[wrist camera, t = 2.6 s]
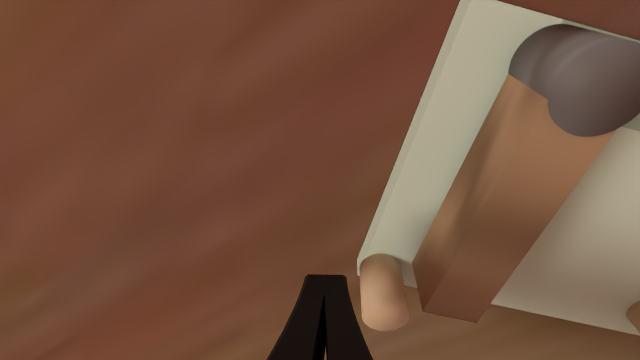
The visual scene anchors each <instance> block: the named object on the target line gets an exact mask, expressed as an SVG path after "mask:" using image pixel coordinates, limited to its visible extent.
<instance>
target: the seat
mask: <svg viewBox="0 0 640 360" xmlns="http://www.w3.org/2000/svg"><path fill="white" fill-rule="evenodd" d="M554 24H569V25H573V26H577V27H581V28H585V29H589V30H593V31H596V32H600V33H604V34H608V35H612V36H616V37H619V38H623V39H627V40H631V41H635V42H638V43H640V41H638V40H635V39H631V38H628V37H624V36H621V35H617V34H614V33H610V32H606V31H603V30H599V29H596V28H592V27H589V26H585V25H582V24H578V23H575V22H571V21H567V20H564V19H560V18H557V17H553V16H550V15H546V14H542V13H539V12H535V11H532V10H528V9H525V8H521V7H518V6H514V5H510V4H507V3H503V2H500V1H496V0H460V2H459V5H458V7H457V10H456V12H455V15H454V17H453V20H452V22H451V25H450V27H449V30H448V32H447V35H446V37H445V40H444V42H443V45H442V47H441V50H440V52H439V55H438V57H437V60H436V62H435V65H434V67H433V70H432V72H431V75H430V78H429V80H428V83H427V85H426V88H425V90H424V93H423V95H422V98H421V100H420V103H419V105H418V108H417V110H416V113H415V115H414V118H413V120H412V123H411V125H410V128H409V130H408V133H407V135H406V138H405V140H404V143H403V145H402V148H401V150H400V153H399V155H398V158H397V160H396V163H395V165H394V168H393V171H392V173H391V176H390V178H389V181H388V183H387V186H386V188H385V191H384V193H383V196H382V198H381V201H380V203H379V206H378V208H377V211H376V213H375V216H374V218H373V221H372V223H371V226H370V228H369V231H368V233H367V236H366V238H365V241H364V243H363V246H362V248H361V251H360V253H359V256H358V258H357V270H358V275H359V276H360V289H361V307H362V319H363V321H364V323H365V324H366V325H367V326H369V327H370V328H372V329H375V330H379V331H392V330H396V329H399V328H401V327H402V326H404V325H405V324H406V323H407V322H408V320H409V318H410V311H409V306H408V301H407V296H406V291H405V286H410V287H415V288H417V284H416V280H415V275H414V271H413V267H412V261H413V259H414V257H415V256H416V254H417V252H418V250H419V248H420V246H421V244H422V242H423V240H424V238H425V236H426V234H427V232H428V230H429V228H430V226H431V224H432V222H433V220H434V218H435V216H436V214H437V212H438V210H439V208H440V207H441V205H442V203H443V201H444V199H445V197H446V195H447V193H448V191H449V189H450V187H451V185H452V183H453V181H454V179H455V177H456V175H457V173H458V171H459V169H460V167H461V165H462V163H463V161H464V159H465V158H466V156H467V154H468V152H469V150H470V148H471V146H472V144H473V142H474V140H475V138H476V136H477V134H478V132H479V130H480V128H481V126H482V124H483V122H484V120H485V118H486V116H487V114H488V112H489V110H490V108H491V107H492V105H493V103H494V101H495V99H496V97H497V95H498V93H499V91H500V89H501V87H502V85H503V83H504V81H505V79H506V77H507V75H508V70H509V65H510V62H511V59H512V57H513V55H514V53H515V51H516V50H517V48H518V47H519V46H520V45H521V43H522V42H523V41H524V40H525V39H526V38H528V37H529V36H530V35H531V34H533V33H534V32H536V31H538V30H540V29H542V28H544V27H547V26H550V25H554ZM490 304H494V305H499V306H504V307H508V308H513V309H518V310H522V311H527V312H532V313H536V314H541V315H546V316H550V317H555V318H560V319H564V320H569V321H574V322H578V323H583V324H588V325H592V326H597V327H602V328H606V329H611V330H616V331H621V332H625V333H630V334H635V335H639V336H640V113H639V114H638V115H637V116H636V117H635V118H633V119H632V120H631V121H630V122H628V123H627V124H625V125H623V126H622V127H620V128H618V129H617V130H616V132H615V133H614V134H613V136H612V137H611V138H610V140H609V141H608V143H607V144H606V145H605V147H604V148H603V149H602V151H601V152H600V154H599V155H598V156H597V158H596V159H595V160H594V162H593V163H592V165H591V166H590V167H589V169H588V170H587V171H586V173H585V174H584V176H583V177H582V178H581V180H580V181H579V182H578V184H577V185H576V187H575V188H574V189H573V191H572V192H571V193H570V195H569V196H568V198H567V199H566V200H565V202H564V203H563V204H562V206H561V207H560V209H559V210H558V211H557V213H556V214H555V215H554V217H553V218H552V220H551V221H550V222H549V224H548V225H547V226H546V228H545V229H544V231H543V232H542V233H541V235H540V236H539V237H538V239H537V240H536V242H535V243H534V244H533V246H532V247H531V248H530V250H529V251H528V253H527V254H526V255H525V257H524V258H523V259H522V261H521V262H520V264H519V265H518V266H517V268H516V269H515V270H514V272H513V273H512V275H511V276H510V277H509V279H508V280H507V281H506V283H505V284H504V286H503V287H502V288H501V290H500V291H499V292H498V294H497V295H496V297H495V298H494V299H493V301H492V302H491V303H490Z"/></svg>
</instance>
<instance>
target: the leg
mask: <svg viewBox="0 0 640 360" xmlns="http://www.w3.org/2000/svg"><path fill="white" fill-rule="evenodd" d="M639 113H640V43H638V42H635V41H631V40H627V39H623V38H619V37H616V36H612V35H608V34H604V33H600V32H596V31H593V30H589V29H585V28H581V27H577V26H573V25H569V24H554V25H550V26H547V27H544V28H542V29H540V30H538V31H536V32H534V33H533V34H531V35H530V36H529V37H528V38H526V39H525V40H524V41H523V42H522V43H521V45H520V46H519V47H518V48H517V50H516V51H515V53H514V55H513V57H512V59H511V62H510V65H509V70H508V75H507V77H506V79H505V81H504V83H503V85H502V87H501V89H500V91H499V93H498V95H497V97H496V99H495V101H494V103H493V105H492V107H491V108H490V110H489V112H488V114H487V116H486V118H485V120H484V122H483V124H482V126H481V128H480V130H479V132H478V134H477V136H476V138H475V140H474V142H473V144H472V146H471V148H470V150H469V152H468V154H467V156H466V158H465V159H464V161H463V163H462V165H461V167H460V169H459V171H458V173H457V175H456V177H455V179H454V181H453V183H452V185H451V187H450V189H449V191H448V193H447V195H446V197H445V199H444V201H443V203H442V205H441V207H440V208H439V210H438V212H437V214H436V216H435V218H434V220H433V222H432V224H431V226H430V228H429V230H428V232H427V234H426V236H425V238H424V240H423V242H422V244H421V246H420V248H419V250H418V252H417V254H416V256H415V257H414V259H413V261H412V267H413V271H414V275H415V280H416V284H417V288H418V293H419V297H420V301H421V305H422V310H423V312H427V313H432V314H436V315H441V316H446V317H451V318H456V319H460V320H465V321H470V322H475V323H477V321H478V320H479V319H480V317H481V316H482V314H483V313H484V312H485V310H486V309H487V308H488V306H489V305H490V303H491V302H492V301H493V299H494V298H495V297H496V295H497V294H498V292H499V291H500V290H501V288H502V287H503V286H504V284H505V283H506V281H507V280H508V279H509V277H510V276H511V275H512V273H513V272H514V270H515V269H516V268H517V266H518V265H519V264H520V262H521V261H522V259H523V258H524V257H525V255H526V254H527V253H528V251H529V250H530V248H531V247H532V246H533V244H534V243H535V242H536V240H537V239H538V237H539V236H540V235H541V233H542V232H543V231H544V229H545V228H546V226H547V225H548V224H549V222H550V221H551V220H552V218H553V217H554V215H555V214H556V213H557V211H558V210H559V209H560V207H561V206H562V204H563V203H564V202H565V200H566V199H567V198H568V196H569V195H570V193H571V192H572V191H573V189H574V188H575V187H576V185H577V184H578V182H579V181H580V180H581V178H582V177H583V176H584V174H585V173H586V171H587V170H588V169H589V167H590V166H591V165H592V163H593V162H594V160H595V159H596V158H597V156H598V155H599V154H600V152H601V151H602V149H603V148H604V147H605V145H606V144H607V143H608V141H609V140H610V138H611V137H612V136H613V134H614V133H615V132H616V130H617V129H618V128H620V127H622V126H623V125H625V124H627V123H628V122H630V121H631V120H632V119H633V118H635V117H636V116H637V115H638V114H639Z"/></svg>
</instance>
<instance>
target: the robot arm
mask: <svg viewBox="0 0 640 360" xmlns="http://www.w3.org/2000/svg"><path fill="white" fill-rule="evenodd" d="M325 347H326V354H327V360H373V359H372V356H371V354H370V352H369V350H368V347H367V345H366V343H365V340H364V338H363V335H362V333H361V330H360V327H359V325H358V322H357V319H356V316H355V313H354V310H353V307H352V303H351V300H350V296H349V292H348V286H347V278H346V277H345V276H344V275H309V274H308V275H307V276H306V277H305V279H304V283H303V286H302V289H301V292H300V295H299V297H298V300H297V302H296V304H295V307H294V309H293V311H292V313H291V315H290V317H289V319H288V322H287V324H286V326H285V328H284V330H283V332H282V333H281V335H280V337H279V339H278V341H277V342H276V344H275V346H274V348H273V350H272V351H271V353H270V355H269V356H268V358H267V360H324V355H325Z"/></svg>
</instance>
